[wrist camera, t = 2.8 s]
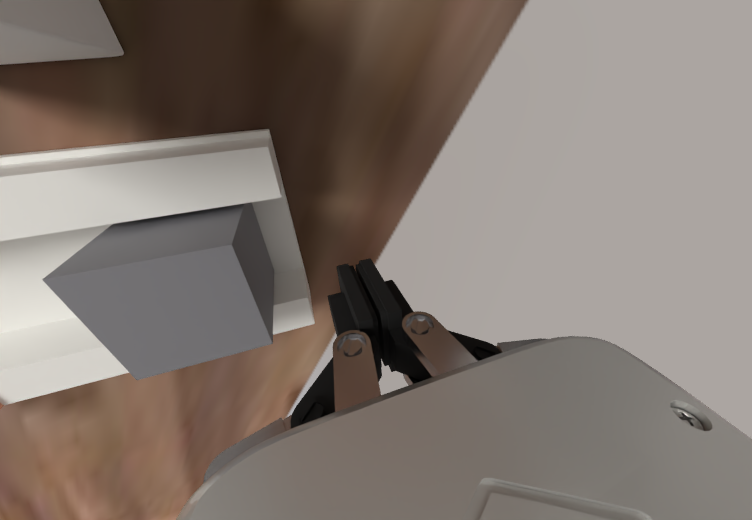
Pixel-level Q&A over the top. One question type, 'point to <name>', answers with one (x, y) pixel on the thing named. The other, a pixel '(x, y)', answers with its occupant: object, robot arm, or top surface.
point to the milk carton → (55, 31)
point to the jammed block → (173, 288)
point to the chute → (115, 205)
